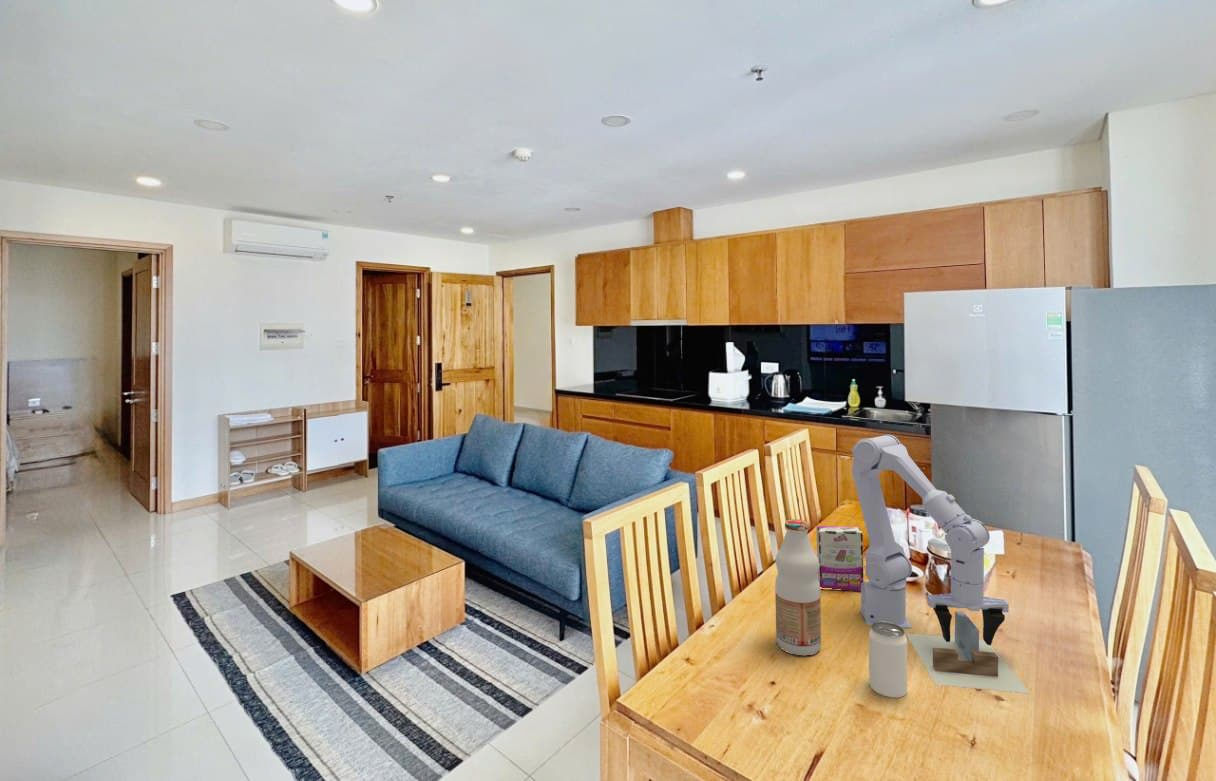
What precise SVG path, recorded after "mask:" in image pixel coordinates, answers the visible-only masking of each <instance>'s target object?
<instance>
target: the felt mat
mask: <svg viewBox="0 0 1216 781" xmlns="http://www.w3.org/2000/svg"><path fill="white" fill-rule="evenodd" d="M905 636H906V638H908V640H909V642H910V643H911V645H912V647H913V649H914V650H915V652H916V653H917V656H918V658H919V660H920V661H921V662H922V664H923V666H924V668H925V670H926V671H927V673H928V674H929V676H930V677H931V680H932V681H933V684H934V685H936V686H943V687H944V686H945V687H946V686H947V687H956V688H957V687H958V688H967V689H976V690H987V691H996V692H997V691H998V692H1007V693H1017V694H1019V693H1020V694H1030V695H1032V693H1031V691H1030V690H1029V689H1028V688H1027V687H1026V685H1024V683H1023V682H1022V680H1020V678H1019V677H1018V676H1017V674H1015V673H1014V671H1013V670H1012V669H1011V667H1009V665H1008V664H1007V663H1006V662H1005V661H1004V659H1003V658H1002V657H1001V656H1000V654H999V653H998V652H997V651H996V649H994V648H993V646H992V644H991V645H987V644H986V643H985V641H984V640H983V638H982V639H980V638H979V651H982V652H994V653H995V654H996V655H997V656H998V677H996V676H985V675H974V674H963V673H952V672H941V671H935V669H934V668H933V648H945V649H955V650H956V652H957V653H958V660H963V661H968V659H967V658H966V657H965V648H959V647H958V646H957V644H956V643H955V636H950V642H946V641H945V639H944V638H943V635H929V634H917V633H915V634H914V633H905Z"/></svg>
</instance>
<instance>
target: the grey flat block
mask: <svg viewBox="0 0 1216 781" xmlns="http://www.w3.org/2000/svg"><path fill="white" fill-rule="evenodd" d="M954 637H955V643H956V644H957V646H958V647H959V648H965V657H966V658H967V659H968V661H972V651H979V639H980V630H979V628H978V627H977V626H976V625H975V624H974V622H973V621H972V620H971V619H970V618H969V616H968V615H967V614H966V613H965V612H964V610H963V611H960V610H955V611H954Z"/></svg>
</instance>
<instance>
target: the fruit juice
mask: <svg viewBox="0 0 1216 781" xmlns="http://www.w3.org/2000/svg"><path fill="white" fill-rule="evenodd" d="M784 528H785V531H786V532H785V535H784V536H783V540H782V543H781V546H780V547H779V550H778V551H777V553H776V555H775V566H776V569H777V575H776V578H775V584H774V585H775V587H774V588H775V589H774V592H775V595H774V597H775V638H776V640H775V641H776V643H778V644H777V646H778V645H779V646H780V647H781V648H783V649H784V650H786V651H788V652H790V653H792V654H796V655H795V656H797V655H803V656H802V657H807V656H806V655H811V656H814V655H816V654H818V653H819V652H818V651H821V645H822V626H821V625H822V622H821V621H822V620H821V619H822V617H821V614H822V613H821V612H822V611H821V608H822V607H821V606H822V604H821V603H822V602H821V589H820V583H819V580H818V571H819V559H818V556H817V552H815V550H814V547H813V544H812V541H811V540H810V537H809V534H808V531H809V528H810V526H809V522H808V521H806V520H802V519H797V518H792V519H787V520H785V522H784ZM779 646H778V647H779ZM780 647H779V648H780ZM781 648H780V649H781ZM817 652H818V653H817ZM792 654H791V655H792ZM813 654H814V655H813ZM804 655H805V656H804Z"/></svg>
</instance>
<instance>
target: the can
mask: <svg viewBox="0 0 1216 781" xmlns="http://www.w3.org/2000/svg"><path fill="white" fill-rule="evenodd" d="M870 627H871V629H870V630H869V632H868V633H869V634H868V674H869V676H868V680H869V681H868V682H869V686H870V688H871V689H872V690H873V691H874V692H875V693H877V694H879V695H881V696H884V697H888V698H892V699H895V698H902V697H904V696H906V695H907V692H908V639H907V636H906V633H905V630H904V628H901V627H900V626H898V625H896V624H893V623H890V622H875V623H873V624H872V626H870Z"/></svg>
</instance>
